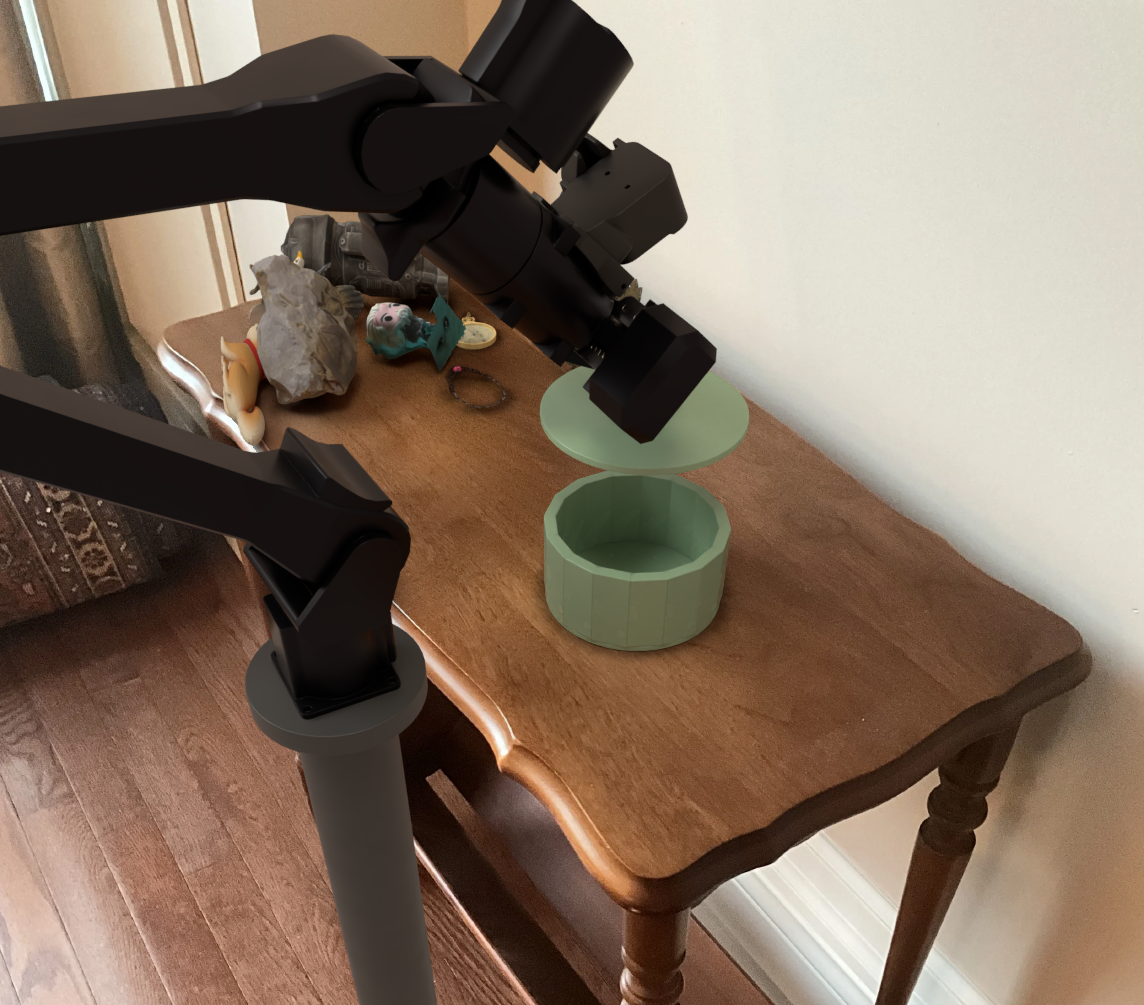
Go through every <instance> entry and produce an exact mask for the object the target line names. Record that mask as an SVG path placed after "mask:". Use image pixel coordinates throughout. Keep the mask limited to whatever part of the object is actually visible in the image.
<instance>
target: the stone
mask: <svg viewBox="0 0 1144 1005" xmlns="http://www.w3.org/2000/svg"><path fill="white" fill-rule="evenodd" d="M252 265H253V267H252V268H251V269H250V271H251V272H252V273H253V275H254V278H255V281H256V284H257V283H258V285H259V287H260V290H259V291H260V295H261V299H262V298H263V300H264V303H265V307H266V312H265V313H264V315H262V318H261V320H260V322H259V324H258V325H257V327H256V330H257V352H258V356H259V359H260V361H261V364H262V367H263V370H264V372H265V375H266V377H267V378H266V379H267V381H268V382H269V384H270V385H271V386H273V387H274V388H275V390H276V399H277V403H278V404H280V405H289V404H291V403H296V402H299V401H302V400H304V399H314V398H317V397H320V396H322V395H325V394H326V393H330V394H333V395H337V396H343V395H346V392H347V390H348V389H349V385H350V383H351V381H352V380H353V378H354V376H355V373H356V370H357V363H358V354H359V350H358V349H359V347H358V345H357V343H358V342H359V338H358V335H357V333H356V322H355V319H353V317H352V316H351V315H350V314H349V313H347V311H346V310H345V308H344V306H343V304H342V302H341V300H340V294H339V292H338V290H336V289H335V288H334V287H333V285H332V284H331V283H330V282H329V280H328V279H327V278H325V277H323V276H321V275H318V274H317V273H316V272H315V271H314V270H311V269H305V268H301V267H299V266H298V265H297V264H295V263H294V262H291V261H290V259H289V258H288V256H286V255H284V254H283V253H282V254H280V255H277V254H274V255H269V256H267V257H264V258H261V259H260V260H258V261H256V262H254V264H252Z"/></svg>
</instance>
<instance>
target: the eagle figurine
mask: <svg viewBox="0 0 1144 1005" xmlns="http://www.w3.org/2000/svg"><path fill="white" fill-rule="evenodd" d="M294 263H295V264H297V265H298V266H299V267H301V268H304V260H303V257H302V252H301V251H298V255H297V258H296V259H295V261H294ZM253 265H254V264H252V263H249V269H250V270H251V268H252V267H253ZM330 265H331V263H330V262H329V263H328V264H326V265H325V266H324V267H322V268H321V269H320V270H318V271H317V272H316V273H317V274H318V275H320V274H322V273H323V272H325V271H326V270H327V269H328V268H330ZM334 288H335V289H336V290H338V292H339V294H340V300H341V302H342V304H343V306H344V308H345V310H346V311H347V313H349V314H350V315H351V316H352V317H353V319H354V320H357V319H359V315H360V314H362V310H363V308H364V307H365V306H364V301H365V296H364V295H363V294H361V292H360V291H356V290H355V287H354V286H350V285H341V286H336V287H334ZM258 291H260V287H259V285H258V283H257V282H256V285H255V287H254V288H252V289H251V290H250V291H249V295H250V296H253V295H256V294H257V293H258ZM265 312H266V307H265V303H264V300H263V298H262V297H261V301H260V303H257V304H255V305H253V306H252V307H251V309H250V311H249V314H248V318H247V320H248V322H249V325H250V326H251V327H252V326H254V325H255V324H256V323H258V324H259V322H260V320H261V318H262V315H264V313H265Z"/></svg>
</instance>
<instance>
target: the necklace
mask: <svg viewBox="0 0 1144 1005" xmlns="http://www.w3.org/2000/svg"><path fill="white" fill-rule="evenodd" d="M463 373H464V374H465V373H467V374H473V375H476V374H477V375H478V376H481V378H485V380H486V379H489V380H492V381H494V383H496V384H497V385H498V386H499V387H500V389H501V390H502V392H503V396H502V398H501V399H500V400H499V401H497V402H496V403H495V402H494V404H489V405H475V404H472V403H470V402H466V401H465V400H463V399H462V398H461V397H459V396H458V395H457V393H456V389H455V380H456V378H457V376H459V375H460V374H463ZM445 379H446V382H449V384H447V387H448V391H449V394H453V395H454V396H455V397H456V399H458V400H459V401H461V402H462V403H464V404H466V405H467V406H470V407H473V408H481V409H482V408H483V409H484V408H486V409H487V408H491V407H494V406H497V405H500V403H502V402H503V401H504V400H505V398H506V394H507V393H506V391H505V388H504V387H503V385H502V384H501V383H499V381H497V379H495V378H494V377H492V376H491V375H489V374H488V373H484V372H481V371H480V369H477V368H473V367H470V366H468V365H467V366H463V365H462V366H460V365H454V366H452V367H450V369H447V372H446V373H445Z"/></svg>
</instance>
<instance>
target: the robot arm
mask: <svg viewBox="0 0 1144 1005" xmlns="http://www.w3.org/2000/svg"><path fill="white" fill-rule="evenodd" d="M634 64H635V62H634V59H633V57H632V56H631V54H630V52H629V51H628V49H627V47H626V46H625V45H624V44H623V42H622V41H621V40H620V38H619V37H618V36H617V35H616V34H615V33H614V31H612V30H611V29H610V28H609V27H607V26H605V25H603V24H601V23H599V22H597V21H596V20H595V19H594V18H593V17H592V16H591V15H590V14H589V13H588V12H587V11H586V10H584V9H583V8H582V7H581V6H580V5H578V4H577V3H576V2H575V1H574V0H501V1H500V3H499V5H498V7H497V9H496V11H495V13H494V14H493V16H492V17H491V18H490V20H489V22H488V23H487V25H486V26H485V28H484V29H483V31H482V32H481V34H480V36H479V38H478V39H477V40H476V42H475V44H473V46H472V48H471V50H470V51H469V53H468V54H467V56H466V57H465V59H464V61H463V62H462V64H461V65H460V67H459V68H458V69H457V71H456V70H455V69H453V68H452V67H450V66H449V65H446V64H445V63H444V62H442V61H441V60H438V59H437V58H435V57H434V56H432V55H382V54H380V53H378V52H377V51H375V50H374V49H373V48H371V47H370V46H368V45H366V44H365V43H363V42H362V41H360V40H358V39H356V38H354V37H351V36H349V35H344V34H335V33H332V34H325V35H320V36H317V37H315V38H311V39H308V40H304V41H301V42H298V43H295V44H291V45H289V46H286V47H282V48H279V49H275V50H273V51H269V52H266V53H263V54H261V55H259V56H257V57H256V58H254V59H253V60H251V61H250V62H248V63H247V64H245V65H243V66H241V68H239V69H238V70H236V71H234V72H232V73H231V74H228V75H227V76H224V77H221V78H218V79H214V80H212V81H209V82H206V83H202V84H194V85H187V86H185V85H184V86H176V87H167V88H158V89H156V88H155V89H148V90H140V91H138V90H137V91H130V92H128V91H127V92H120V93H112V94H110V93H109V94H103V95H101V94H100V95H94V96H83V97H74V98H65V99H57V100H56V99H55V100H46V101H36V102H27V103H18V104H7V105H0V237H2V236H9V235H16V234H22V233H28V232H36V231H42V230H49V229H55V228H63V227H68V226H74V225H81V224H82V225H83V224H88V223H96V222H102V221H108V220H114V219H115V220H116V219H122V218H129V217H136V216H142V215H148V214H154V213H161V212H168V211H169V212H170V211H173V210H182V209H188V208H195V207H201V206H207V205H208V206H209V205H215V204H221V203H227V202H235V201H241V200H247V201H249V200H251V201H253V200H254V201H271V202H275V203H276V202H277V203H282V204H285V205H292V206H296V207H300V208H305V209H306V208H307V209H310V210H316V211H322V212H331V213H333V212H334V213H357V218H358V219H359V222H361V225H362V233H361V251H362V254H363V256H364V257H366V258H367V259H368V260H369V261H370V262H371V263H372V264H373V265H374V266H375V267H377V268H378V269H379V270H380V271H381V272H382V273H383V274H384V275H385V276H386V277H387V278H389V279H390V280H391V281H393V282H395V281H399V280H400V279H401V278H402V276H403V275H404V273H405V272H406V270H407V269H408V267H409V266H410V264H411V263H412V261H413V260H414V258H415V257H416V255H417V254H418V252H419V253H420V254H421V255H423V256H424V257H425V258H426V259H428V260H429V261H430V262H431V263H433V264H434V265H435V266H437V267H438V268H439V269H440V270H442V271H443V272H444V273H445V274H447V275H448V276H449V277H450V279H452V280H453V281H454V282H455V283H457V284H458V285H459V286H460V287H462V288H463V289H464V290H466V292H468V293H469V294H471V295H472V296H473V297H474V298H475V299H476V300H478V301H480V302H481V304H483V305H484V306H485V307H486V308H487V309H488V310H489V311H490V312H491V313H492V314H493V315H494V316H495V317H497V319H499V320H500V321H501V322H502V323H503V324H505V325H506V326H507V327H509V328H510V329H511V330H514V329H515V330H516V331H517V332H519V333H520V334H521V335H523V336H524V337H525V338H527V339H528V340H529V341H530V342H531V343H532V344H533V345H534V346H535V347H536V348H537V349H538V350H540V352H542V353H543V354H544V355H545V357H547V358H548V359H549V360H551V361H552V362H553V363H555V365H557V366H558V367H560V368H561V367H562V366H563V365H564V364H565V363H567V362H568V363H571V364H575V365H579V366H583V367H586V368H590V369H594V370H595V371H594V372H593V374H592V375H591V376H590V378H589V379H588V380H587V382H586V383H585V384H584V385H583V388H584V389H585V390H586V391H587V392H588V393H589V400H590V401H591V402H593V403H594V404H595V405H596V406H597V407H598V408H599V409H600V410H601V411H602V412H603V413H604V414H605V415H606V416H607V417H609V418H610V419H611V420H612V421H613V422H614V423H615V424H616V425H617V426H618V427H619V428H620V429H621V430H623V431H624V432H625V433H627V434H628V435H629V436H631V437H632V438H633V439H634V440H636V441H637V442H638V443H640V444H643V443H647V442H651V441H653V440H654V439H655V438H656V436H657V435H658V434H659V433H660V431H661V430H662V429H663V428H664V426H665V425H666V424H667V423H668V421H669V420H670V419H671V418H672V416H673V415H674V414H675V413H676V411H677V410H678V409H679V408H680V406H681V405H682V404H683V403H684V401H685V400H686V399H687V398H688V396H689V395H690V394H691V393H692V391H693V390H694V389H695V388H696V386H697V385H698V384H699V383H700V381H701V380H702V379H703V378H704V376H705V375H706V374H707V373H708V371H710V370H711V369H712V368H713V367H714V365H715V364H716V362H717V353H718V348H717V347H716V346H715V345H714V344H713V343H712V342H711V341H710V340H709V339H708V338H707V337H706V336H705V335H704V334H702V332H700V331H699V330H698V329H697V328H696V327H694V326H693V325H692V324H691V323H690V322H688V321H687V320H685V318H684V317H682V316H680V315H679V314H678V313H677V312H676V311H674V310H673V309H672V308H670V307H669V306H667V304H665V303H658V304H657V303H656V302H655V301H653V300H652V298H650V299H648V301H646V303H645V304H643V303H642V302H641V301H640V302H639V301H638V300H637V299H636V298H634V297H633V296H626V297H624V298H622V299H621V300H619V301H618V300H616V296H617V297H621V296H622V295H623V294H624V292H625V291H626V290H627V288H628V287H630V284H631V283H632V282H633V280H634V279H636V278H635V277H634V276H633V275H632V274H631V273H630V272H628V270H626V268H624V267H623V265H624V266H625V265H627V264H631V263H634V262H635V261H636V260H637V259H639V258H640V257H641V256H643V255H644V254H646V253H647V252H648V251H649V250H651V249H652V248H653V247H655V246H656V245H658V244H659V243H660V242H661V241H663V240H664V239H665V238H667V237H669V235H676V234H678V232H679V231H681V230H682V229H683V228H684V227H685V226H686V224H687V222H688V219H689V216H688V212H687V208H686V206H685V203H684V200H683V197H682V194H681V191H680V188H679V185H678V181H677V179H676V176H675V172H674V170H673V167H672V164H671V163H670V162H669V161H668V160H666V159H665V158H663V157H661V156H660V155H659V154H658V153H656V152H654V151H653V150H651V149H649V148H648V147H647V146H645V145H643V144H641V143H640V142H637V141H628V142H626V141H624V140H622V139H621V138H619V137H617V138H615V139H614V140H612V145H613V147H614V148H613V149H611V148H609V147H608V145H606V144H604V143H603V142H602V141H600V140H599V139H598V138H596V136H593V135H592V134H591V133H589V132H590V130H591V128H592V127H593V126H594V124H595V123H596V122H597V120H598V118H600V116H601V114H602V112H603V111H604V110H605V108H606V107H607V105H608V104H609V103H610V101H611V99H612V98H613V97H614V95H615V94H616V92H617V91H618V90H619V88H620V87H621V85H622V84H623V83H624V81H625V80H626V78H627V76H628V75H629V73H630V72H631V70H632V69H633V67H634V66H635V65H634ZM496 146H497V147H498V148H499V149H500V150H502V151H503V152H504V153H505V154H506V155H507V156H509V157H510V158H511V159H512V160H514V161H515V162H516V164H519V165H520V166H521V167H523V169H525V170H527V171H528V172H530V173H531V174H535V173H536V172H537V170H538V169H539V167H540V166H541V162H542V163H543V164H544V165H545V166H546V167H547V168H548V169H549V170H551V171H552V172H553V173H555V174H556V175H557V174H558V173H559V171H560V178H561V180H560V181H559V186H560V188H561V191H560V194H559V196H558V197H557V198H556V199H555V200H554V201H552V202H551V203H549V202H548V201H547V200H546V199H545V198H544V197H543V196H542V195H540V194H539V193H537V192H536V191H535V190H533V191H532V193H531V192H530V191H529V190H528V189H527V188H526V186H524V185H523V184H522V183H521V182H520V181H519V180H518V179H517V178H515V176H513V175H512V174H511V173H510V172H509V171H508V170H507V169H506V168H505V167H504V166H503V165H502V164H501V163H499V162H498V161H497V160H496V158H494V156H492V155H491V153H492V152H493V151H494V149H495V147H496ZM568 363H567V364H568ZM0 473H2V474H6V475H8V476H12V477H16V478H19V479H23V480H27V481H31V482H33V483H38V484H41V485H45V486H48V487H50V488H51V487H52V488H55V489H59V490H62V491H66V492H69V493H72V494H76V495H80V496H83V497H87V498H91V499H93V500H94V499H95V500H98V501H101V502H104V503H108V504H111V505H116V506H119V507H121V508H126V509H129V510H133V511H136V512H140V513H143V514H147V515H150V516H154V517H157V518H161V519H165V520H168V521H172V522H176V523H178V524H182V525H185V526H190V527H194V528H196V529H200V530H203V531H208V532H211V533H214V534H218V535H222V536H225V537H228V538H232V539H235V540H239V541H242V542H244V543H245V545H244V546H243V549H242V552H243V554H244V555H245V557H246V558H247V560H248V561H249V563H250V564H251V565H252V567H253V568H254V570H255V571H256V573H257V574H258V576H259V577H260V579H261V581H263V583H264V584H265V586H266V587H267V588H268V590H269V591H270V593H268V594H265V595H264V596H263V597H262V601H263V605H264V610H265V613H266V618H267V622H268V626H269V630H270V635H271V638H272V639H273V643H274V648H275V650H274V651H273V652H272V653H271V659H272V662H273V664H274V666H275V668H276V670H277V672H278V674H279V676H280V678H281V680H282V682H283V684H284V686H285V687H286V689H287V691H288V693H289V695H290V697H291V699H292V701H293V703H294V705H295V707H296V709H297V711H298V713H299V715H300V717H301V718H303V719H306V720H309V719H313V718H316V717H319V716H322V715H324V714H327V713H330V712H333V711H336V710H339V709H342V708H345V707H348V706H351V705H354V704H357V703H360V702H363V701H366V700H369V699H371V698H374V697H377V696H380V695H383V694H386V693H389V692H392V691H395V690H397V689H399V688H400V686H401V681H400V678H399V676H398V674H397V673H396V671H395V669H394V668H393V666H392V665H391V663H392V662H395V661H396V658H397V654H396V646H395V639H394V631H393V624H394V623H393V618H392V612H391V610H392V607H393V603H394V599H395V595H396V591H397V587H398V583H399V580H400V575H401V572H402V570H403V569H404V568H405V566H406V563H407V561H408V559H409V556H410V554H411V546H412V537H411V534H410V527H409V525H408V524H407V523H406V522H405V521H404V519H403V518H402V517H401V516H400V515H399V514H398V513H397V511H396V510H395V509H394V508H393V506H392V505H393V501H392V499H391V498H390V497H389V495H387V494H386V492H385V491H384V490H383V488H381V486H379V484H378V483H377V482H376V481H375V479H373V478H372V476H371V475H370V474H369V472H367V471H366V470H365V468H364V467H363V466H362V465H361V464H360V463H359V461H358V460H357V459H356V458H355V457H354V456H353V455H352V454H351V453H350V451H349V450H348V449H347V447H345V446H344V444H343V443H326V442H325V443H324V442H320V441H316V440H314V439H313V438H311V437H309V436H307V435H305V434H304V433H302V432H301V431H299V430H298V429H296V428H293V427H291V426H287V427H286V428H285V430H284V432H283V437H282V439H281V442H280V446H279V448H276V449H275V448H274V449H270V450H269V449H268V450H263V451H258V452H253V451H247V450H244V449H241V448H238V447H235V446H232V445H229V444H226V443H223V442H221V441H218V440H215V439H212V438H209V437H207V436H203V435H201V434H198V433H195V432H192V431H189V430H186V429H183V428H180V427H177V426H175V425H172V424H169V423H167V422H163V421H160V420H158V419H155V418H152V417H149V416H147V415H143V414H140V413H138V412H135V411H133V410H129V409H126V408H123V407H120V406H117V405H115V404H112V403H109V402H106V401H103V400H100V399H97V398H94V397H91V396H89V395H86V394H84V393H80V392H77V391H74V390H72V389H69V388H66V387H62V386H60V385H57V384H54V383H51V382H48V381H46V380H43V379H40V378H37V377H34V376H31V375H29V374H26V373H23V372H20V371H17V370H14V369H12V368H9V367H6V366H3V365H0ZM392 682H394V683H392ZM306 711H309V712H306Z"/></svg>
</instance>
